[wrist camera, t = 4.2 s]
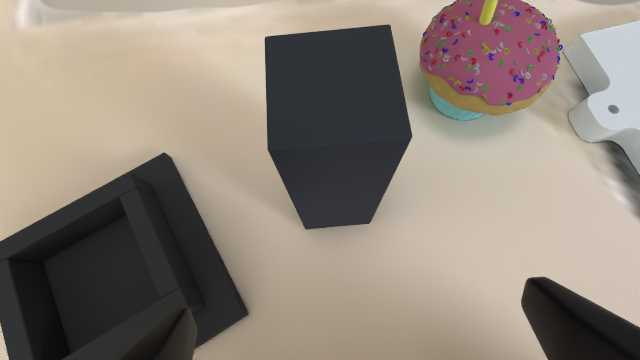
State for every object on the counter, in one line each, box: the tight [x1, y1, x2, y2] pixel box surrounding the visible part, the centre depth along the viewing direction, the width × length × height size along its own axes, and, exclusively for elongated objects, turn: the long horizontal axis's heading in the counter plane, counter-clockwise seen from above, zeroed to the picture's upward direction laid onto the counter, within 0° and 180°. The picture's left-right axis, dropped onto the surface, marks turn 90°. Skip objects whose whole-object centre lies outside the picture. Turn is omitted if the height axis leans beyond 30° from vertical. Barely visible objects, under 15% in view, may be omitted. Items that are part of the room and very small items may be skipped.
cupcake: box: [420, 0, 563, 120], centre depth 19 cm, size 9×8×12 cm
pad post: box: [265, 25, 412, 229], centre depth 17 cm, size 4×4×13 cm
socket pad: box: [0, 153, 248, 360], centre depth 20 cm, size 13×13×4 cm
